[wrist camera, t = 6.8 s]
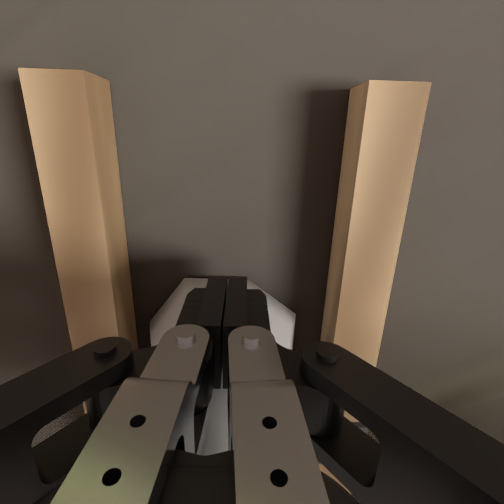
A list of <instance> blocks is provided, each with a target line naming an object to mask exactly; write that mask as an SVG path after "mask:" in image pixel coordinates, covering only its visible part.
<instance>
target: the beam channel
mask: <svg viewBox="0 0 504 504" xmlns="http://www.w3.org/2000/svg"><path fill="white" fill-rule="evenodd" d="M18 71H19V77H20V82H21V87H22V92H23V97H24V102H25V108H26V113H27V118H28V123H29V128H30V133H31V138H32V144H33V149H34V154H35V159H36V164H37V169H38V175H39V180H40V185H41V190H42V195H43V200H44V206H45V211H46V216H47V221H48V226H49V231H50V237H51V242H52V247H53V252H54V257H55V262H56V268H57V273H58V278H59V283H60V288H61V293H62V298H63V304H64V309H65V314H66V319H67V324H68V329H69V335H70V340H71V345H72V350H73V351H74V350H76V349H78V348H80V347H82V346H84V345H86V344H88V343H90V342H92V341H95V340H98V339H101V338H105V337H122V338H125V339H127V340H129V341H130V342H131V344H132V348H133V350H137V349H139V348H138V339H137V330H136V321H135V312H134V303H133V294H132V284H131V275H130V266H129V257H128V248H127V239H126V230H125V221H124V212H123V203H122V193H121V184H120V175H119V166H118V157H117V148H116V139H115V130H114V121H113V111H112V102H111V93H110V84H109V80H106V79H104V78H101V77H99V76H97V75H94V74H92V73H89V72H87V71H84V70H66V69H37V68H18ZM430 87H431V82H413V81H384V80H368V81H366V82H364V83H362V84H360V85H357V86H355V87H353V88H351V89H350V96H349V105H348V113H347V121H346V130H345V138H344V147H343V155H342V163H341V172H340V180H339V189H338V197H337V205H336V214H335V222H334V231H333V239H332V247H331V256H330V264H329V273H328V281H327V289H326V298H325V306H324V315H323V323H322V331H321V340H320V341H325V342H331V343H334V344H337V345H339V346H341V347H343V348H344V349H346V350H348V351H349V352H351V353H353V354H354V355H356V356H358V357H359V358H361V359H363V360H364V361H366V362H368V363H369V364H371V365H373V366H374V367H376V364H377V359H378V354H379V349H380V344H381V338H382V333H383V328H384V323H385V318H386V313H387V308H388V303H389V297H390V292H391V287H392V282H393V277H394V272H395V267H396V262H397V256H398V251H399V246H400V241H401V236H402V231H403V226H404V221H405V215H406V210H407V205H408V200H409V195H410V190H411V185H412V180H413V174H414V169H415V164H416V159H417V154H418V149H419V144H420V139H421V133H422V128H423V123H424V118H425V113H426V108H427V103H428V97H429V92H430ZM83 407H84V412H85V414H86V413H87V410H86V404H85V401H84V402H83ZM344 417H346V418H347V419H348V420H349V421H351V422H352V423H353V424H355V425H356V426H357V427H358V428H360V429H361V430H362V431H363V432H365V433H366V434H367V433H368V428H367V427H366V426H364V425H363V424H362V423H360V422H359V421H358V420H357V419H355V418H354V417H353V416H351V415H350V414H349V413H347V412H346V411H344ZM317 461H318V460H317ZM318 465H319V468H320V471H321V472H323V473H325V474H327V475H328V476H330V477H331V478H332V479H334V480H335V481H336V482H338V483H339V484H340V485H341V486H342V487H344V488H345V489H346V490H347V491H348V492H349V493H350V494H351V492H350V491H349V490H348V489H347V488H346V487H345V486H344V485H343V484H342V483H341V482H340V481H339V480H338V479H337V478H335V477H334V476H333V475H332V474H331V473H330V472H329V471H328V470H327V469H326V468H325V467H324V466H323V465H322V464H321V463H320V462H319V461H318Z"/></svg>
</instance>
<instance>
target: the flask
mask: <svg viewBox="0 0 504 504" xmlns="http://www.w3.org/2000/svg"><path fill="white" fill-rule="evenodd" d="M207 281H208V279H205V278H184V279H183V280H182V282H181V283H180V284H179V285H178V287H177V288H176V289H175V290H174V292H173V293H172V294H171V295H170V297H169V298H168V299H167V300H166V302H165V303H164V304H163V305H162V307H161V308H160V309H159V310H158V312H157V313H156V314H155V315H154V316H153V318H152V319H151V320H150V321H149V322H150V338H151V347H152V346H155V345H158V343H159V341H160V339H161V337H162V336H163V334H164V333H165V332H166V331H167V330H169V329H171V328H173V327H175V326H176V323H177V320H178V318H179V315H180V312H181V309H182V307H183V304H184V302H185V298H186V296H187V294H188V293H189V292H190V291H191V290H193V289H194V288H206V285H207ZM247 289H260V290H261V291H262V292H263V293H264V294H265V295H266V298H267V306H268V313H269V321H270V329H271V333H272V334H273V335H274V337H275V341H276V342H277V343H278V344H279V345H281V346H283V347H285V348H287V349H291V350H293V341H294V330H295V320H296V314H295V313H294V312H292V311H291V310H290V309H288V308H287V307H286V306H284V305H283V304H281V303H280V302H279V301H277V300H276V299H274V298H273V297H272V296H270V295H269V294H268V293H266V292H265V291H263V290H262V289H261V288H259V287H258V286H257V285H255V284H254V283H252V282H251V281H250V280H247ZM227 393H228V389H223V369H222V379H221V389H213V393H212V399H211V401H210V413H209V417H208V422H207V426H206V431H205V435H204V440H203V444H202V449H201V453H200V455H202V456H207V455H212V454H216V453H220V452H225V451H228V421H227V398H228V397H227Z"/></svg>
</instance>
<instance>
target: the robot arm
mask: <svg viewBox="0 0 504 504" xmlns="http://www.w3.org/2000/svg"><path fill="white" fill-rule="evenodd" d="M222 369H223V389H228V393H227V397H228V398H227V421H228V451H225V452H220V453H216V454H212V455H207V456H202V455H200V453H201V449H202V444H203V440H204V435H205V431H206V426H207V422H208V417H209V413H210V401H211V399H212V393H213V389H221V379H222ZM84 401H85V404H86V410H87V413H86V414H85V415H83V416H81V417H80V418H78V419H77V420H75V421H74V422H72V423H70V424H69V425H67V426H66V427H64V428H63V429H61V430H60V431H58V432H56V433H55V434H53V435H52V436H50V437H49V438H47V439H45V440H44V441H42V442H41V443H39V444H38V445H36V446H34V447H33V448H31V444H32V440H33V438H34V436H35V435H36V434H37V432H38V431H39V430H40V429H41V428H42V427H44V426H45V425H47V424H48V423H50V422H51V421H53V420H55V419H56V418H58V417H60V416H61V415H63V414H65V413H66V412H68V411H70V410H71V409H73V408H74V407H76V406H78V405H79V404H81V403H83V402H84ZM344 411H346V412H347V413H349V414H350V415H351V416H353V417H354V418H355V419H357V420H358V421H359V422H360V423H362V424H363V425H364V426H366V427H367V428H368V429H369V430H371V431H372V432H373V433H374V434H375V436H376V437H377V439H378V440H379V442H380V444H379V443H377V442H376V441H375V440H374V439H372V438H371V437H370V436H369V435H367V434H366V433H365V432H363V431H362V430H361V429H360V428H358V427H357V426H356V425H355V424H353V423H352V422H351V421H349V420H348V419H347V418H346V417H344ZM317 460H318V461H319V462H320V463H321V464H322V465H323V466H324V467H325V468H326V469H327V470H328V471H329V472H330V473H331V474H332V475H333V476H334V477H335V478H337V479H338V480H339V481H340V482H341V483H342V484H343V485H344V486H345V487H346V488H347V489H348V490H349V491H350V492H351V493H352V494H353V495H354V496H355V497H356V498H357V499H358V500H359V501H360V502H361V503H362V504H504V445H503V444H502V443H500V442H499V441H497V440H495V439H494V438H492V437H490V436H489V435H487V434H485V433H484V432H482V431H480V430H479V429H477V428H475V427H474V426H472V425H470V424H469V423H467V422H465V421H464V420H462V419H460V418H459V417H457V416H455V415H454V414H452V413H450V412H449V411H447V410H445V409H444V408H442V407H441V406H439V405H437V404H436V403H434V402H432V401H431V400H429V399H427V398H426V397H424V396H422V395H421V394H419V393H417V392H416V391H414V390H412V389H411V388H409V387H407V386H406V385H404V384H402V383H401V382H399V381H397V380H396V379H394V378H392V377H391V376H389V375H388V374H386V373H384V372H383V371H381V370H379V369H378V368H376V367H374V366H373V365H371V364H369V363H368V362H366V361H364V360H363V359H361V358H359V357H358V356H356V355H354V354H353V353H351V352H349V351H348V350H346V349H344V348H343V347H341V346H339V345H337V344H334V343H331V342H325V341H316V342H312V343H309V344H307V345H306V346H305V347H304V348H303V350H302V352H299V351H294V350H291V349H287V348H285V347H283V346H281V345H279V344H278V343H277V342H276V341H275V337H274V335H273V334H272V333H271V329H270V321H269V313H268V306H267V298H266V295H265V294H264V293H263V292H262V291H261V290H260V289H247V277H234V276H229V279H228V277H227V276H209V278H208V281H207V285H206V288H194V289H193V290H191V291H190V292H189V293H188V294H187V296H186V298H185V302H184V304H183V307H182V309H181V312H180V315H179V318H178V320H177V323H176V326H175V327H173V328H171V329H169V330H167V331H166V332H165V333H164V334H163V336H162V337H161V339H160V341H159V343H158V345H155V346H152V347H147V348H142V349H137V350H133V348H132V344H131V342H130V341H129V340H127V339H125V338H122V337H105V338H101V339H98V340H95V341H92V342H90V343H88V344H86V345H84V346H82V347H80V348H78V349H76V350H74V351H71V352H69V353H67V354H65V355H63V356H61V357H59V358H57V359H55V360H53V361H50V362H48V363H46V364H44V365H42V366H40V367H38V368H36V369H34V370H32V371H29V372H27V373H25V374H23V375H21V376H19V377H17V378H15V379H13V380H11V381H8V382H6V383H4V384H2V385H0V504H360V503H359V502H358V501H357V500H356V499H355V498H354V497H353V496H352V495H351V494H350V493H349V492H348V491H347V490H346V489H345V488H344V487H342V486H341V485H340V484H339V483H338V482H336V481H335V480H334V479H332V478H331V477H330V476H328V475H327V474H325V473H323V472H321V471H320V468H319V465H318V461H317Z"/></svg>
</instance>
